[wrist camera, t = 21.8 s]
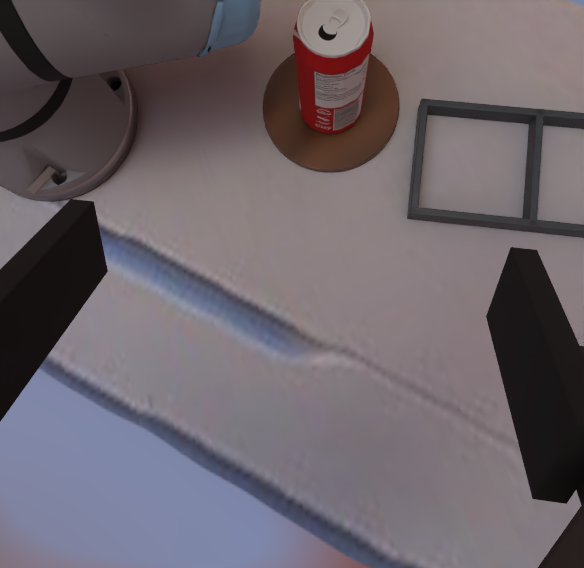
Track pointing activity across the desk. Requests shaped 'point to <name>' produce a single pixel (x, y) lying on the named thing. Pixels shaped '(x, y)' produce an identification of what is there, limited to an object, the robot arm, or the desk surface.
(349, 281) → the desk surface
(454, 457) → the desk surface
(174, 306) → the desk surface
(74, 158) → the robot arm
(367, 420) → the desk surface
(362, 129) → the coaster
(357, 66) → the soda can
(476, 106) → the rack
